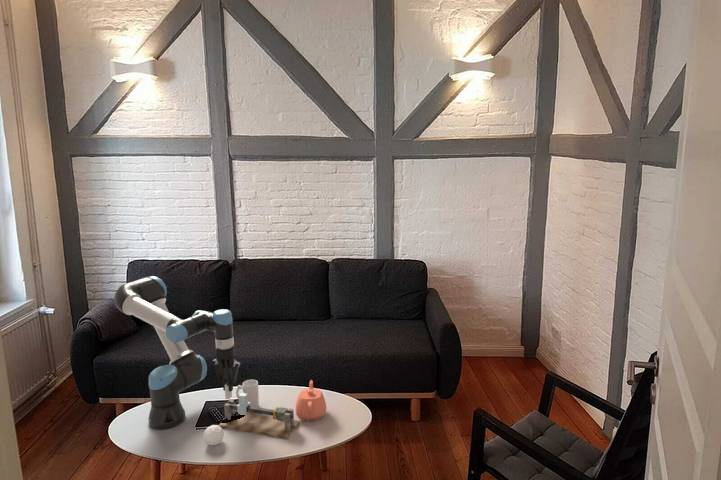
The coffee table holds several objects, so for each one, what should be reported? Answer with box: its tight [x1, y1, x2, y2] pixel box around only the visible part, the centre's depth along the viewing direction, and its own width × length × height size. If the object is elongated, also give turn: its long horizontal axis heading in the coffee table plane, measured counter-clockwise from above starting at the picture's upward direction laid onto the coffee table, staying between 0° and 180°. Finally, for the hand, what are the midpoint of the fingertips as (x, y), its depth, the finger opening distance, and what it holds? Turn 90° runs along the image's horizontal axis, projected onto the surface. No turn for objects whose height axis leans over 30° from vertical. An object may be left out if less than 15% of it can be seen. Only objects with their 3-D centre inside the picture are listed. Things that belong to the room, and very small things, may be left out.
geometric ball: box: [203, 424, 225, 446], centre depth 212 cm, size 8×8×8 cm
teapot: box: [295, 379, 327, 422], centre depth 232 cm, size 13×20×12 cm, turn 4°
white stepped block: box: [236, 392, 250, 415], centre depth 225 cm, size 4×4×8 cm
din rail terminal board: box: [218, 398, 301, 440], centre depth 224 cm, size 32×12×9 cm, turn 73°
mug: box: [235, 379, 260, 408], centre depth 238 cm, size 10×7×12 cm, turn 88°
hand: (228, 397), depth 227 cm, fingers closed
